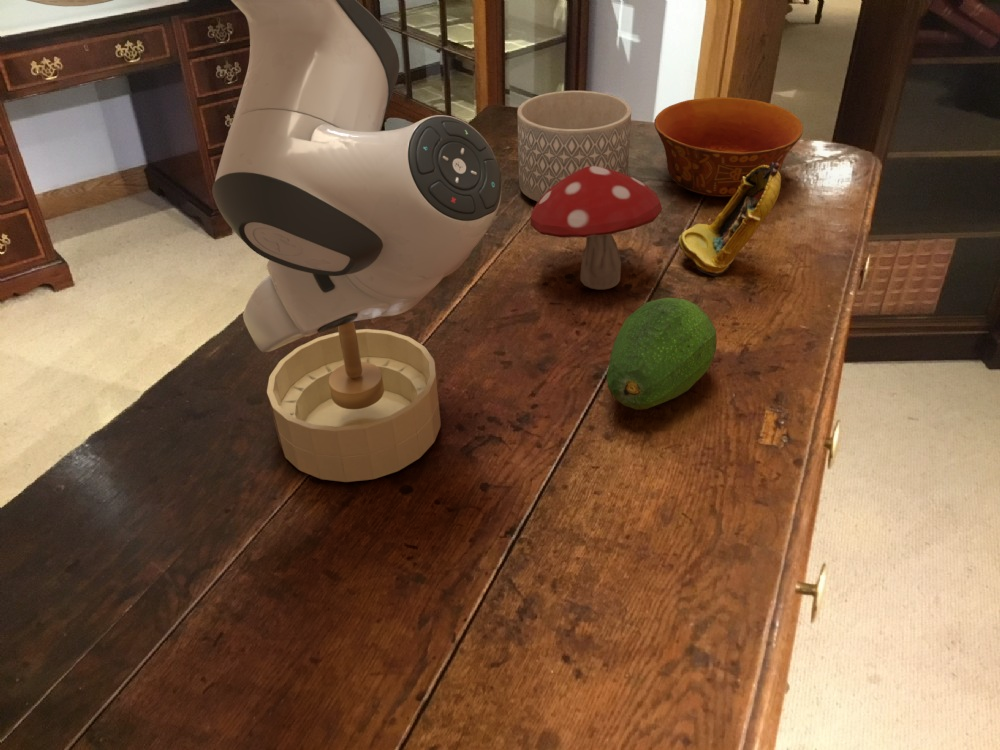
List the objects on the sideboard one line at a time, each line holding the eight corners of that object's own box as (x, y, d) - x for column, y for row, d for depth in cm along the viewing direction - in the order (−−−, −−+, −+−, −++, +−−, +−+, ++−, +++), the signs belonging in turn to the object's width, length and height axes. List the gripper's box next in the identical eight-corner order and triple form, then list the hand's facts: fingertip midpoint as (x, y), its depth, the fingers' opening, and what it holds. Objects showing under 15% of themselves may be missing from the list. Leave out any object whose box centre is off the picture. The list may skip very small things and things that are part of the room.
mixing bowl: (416, 495, 79) (408, 438, 75) (254, 475, 82) (238, 420, 78) (457, 389, 92) (452, 336, 88) (315, 375, 95) (305, 323, 91)
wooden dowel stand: (374, 412, 82) (350, 261, 72) (324, 406, 83) (292, 257, 73) (390, 379, 86) (369, 232, 76) (342, 375, 87) (314, 229, 77)
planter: (599, 224, 122) (602, 138, 114) (499, 202, 128) (496, 119, 121) (643, 180, 133) (649, 99, 125) (549, 162, 140) (549, 84, 132)
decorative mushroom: (518, 306, 105) (515, 193, 96) (544, 245, 117) (543, 140, 108) (649, 319, 101) (658, 204, 92) (661, 255, 114) (670, 147, 105)
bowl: (777, 225, 119) (790, 158, 113) (631, 202, 127) (636, 137, 121) (802, 168, 134) (814, 105, 128) (670, 150, 142) (676, 90, 136)
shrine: (771, 259, 112) (791, 150, 103) (758, 289, 106) (778, 176, 97) (685, 243, 116) (697, 137, 107) (668, 271, 110) (679, 161, 101)
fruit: (660, 448, 83) (668, 366, 77) (575, 410, 88) (577, 331, 82) (729, 372, 93) (742, 294, 87) (649, 342, 98) (656, 266, 92)
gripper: (470, 183, 72) (416, 245, 85) (248, 265, 63) (224, 321, 75) (505, 249, 72) (446, 301, 84) (288, 341, 62) (257, 384, 75)
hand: (340, 311), depth 79 cm, fingers closed on wooden dowel stand
